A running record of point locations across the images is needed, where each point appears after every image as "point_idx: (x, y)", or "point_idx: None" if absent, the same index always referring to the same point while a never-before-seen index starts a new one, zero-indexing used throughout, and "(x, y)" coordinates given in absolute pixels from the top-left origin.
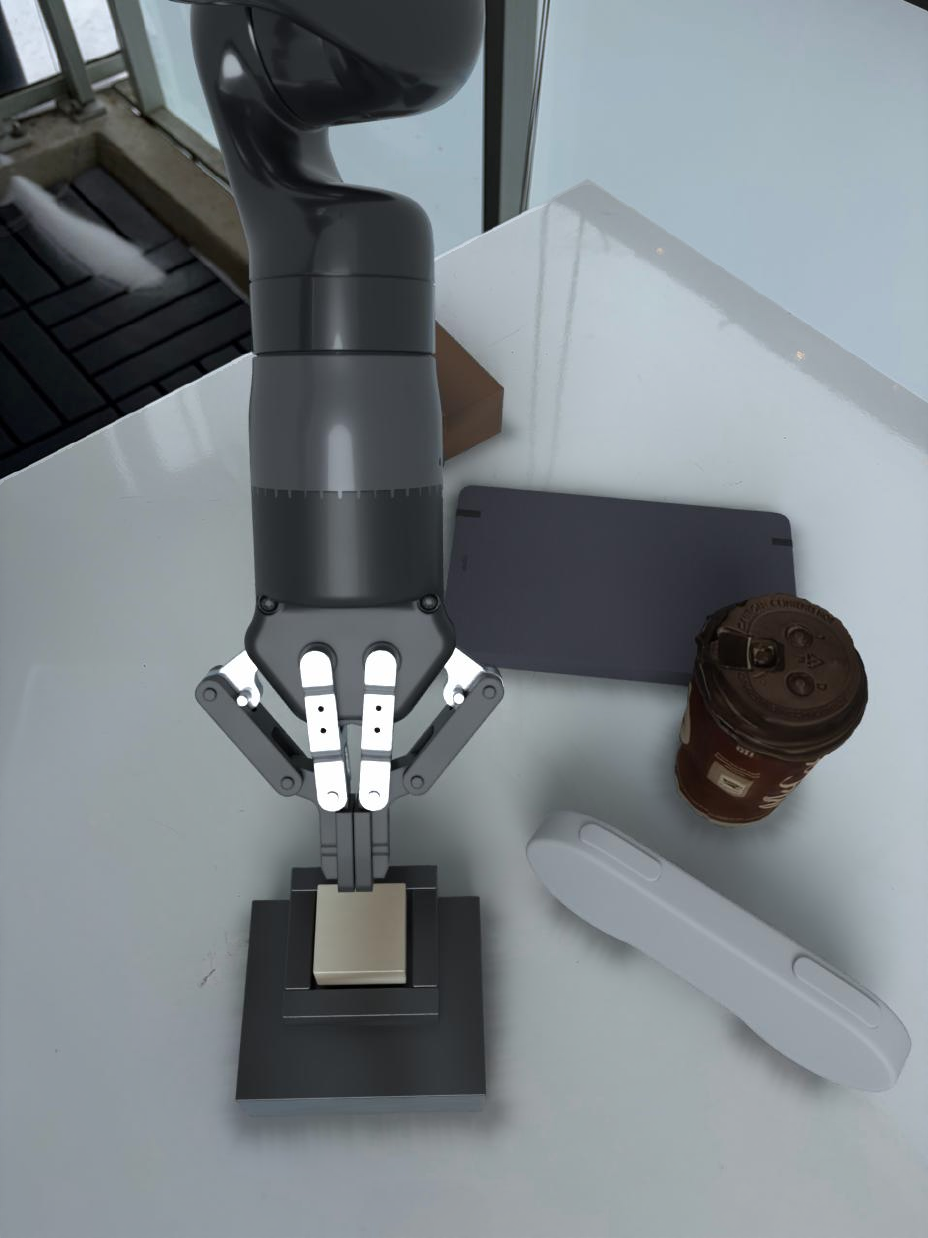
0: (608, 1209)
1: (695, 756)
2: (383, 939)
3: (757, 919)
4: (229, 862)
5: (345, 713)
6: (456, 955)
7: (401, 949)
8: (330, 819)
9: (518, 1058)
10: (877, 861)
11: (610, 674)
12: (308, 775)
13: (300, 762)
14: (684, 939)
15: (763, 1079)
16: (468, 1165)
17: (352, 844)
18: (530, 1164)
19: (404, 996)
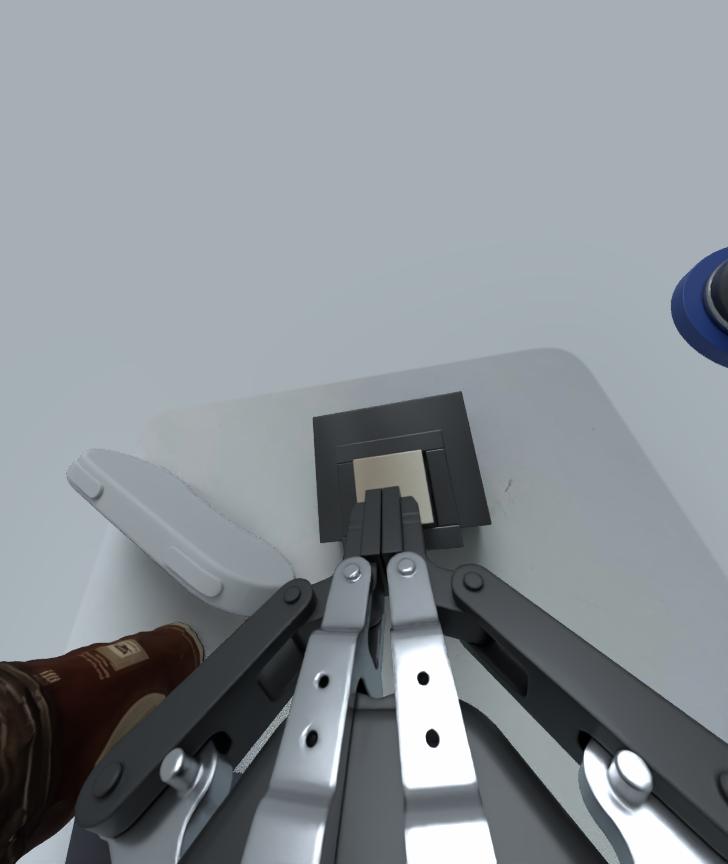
0: (270, 400)
1: (157, 680)
2: (371, 481)
3: (113, 523)
4: (522, 572)
5: (388, 725)
6: (333, 497)
7: (357, 475)
8: (411, 548)
9: (311, 461)
10: (102, 601)
11: (234, 778)
12: (446, 601)
13: (464, 624)
14: (179, 515)
15: (192, 466)
16: (335, 407)
17: (382, 522)
18: (305, 412)
19: (358, 454)
